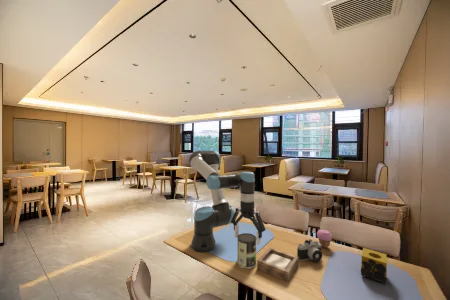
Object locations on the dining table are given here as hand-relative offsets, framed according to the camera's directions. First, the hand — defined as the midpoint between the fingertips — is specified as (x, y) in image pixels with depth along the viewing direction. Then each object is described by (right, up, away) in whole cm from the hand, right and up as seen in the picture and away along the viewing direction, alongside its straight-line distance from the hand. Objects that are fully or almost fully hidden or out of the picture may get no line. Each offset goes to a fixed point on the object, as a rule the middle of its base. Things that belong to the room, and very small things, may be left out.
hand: (247, 240), depth 105 cm
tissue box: (+62, -14, -8) cm, 64 cm away
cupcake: (+52, -13, +20) cm, 57 cm away
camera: (+37, -13, +5) cm, 39 cm away
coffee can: (0, -13, +1) cm, 13 cm away
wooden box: (+16, -13, -3) cm, 21 cm away
